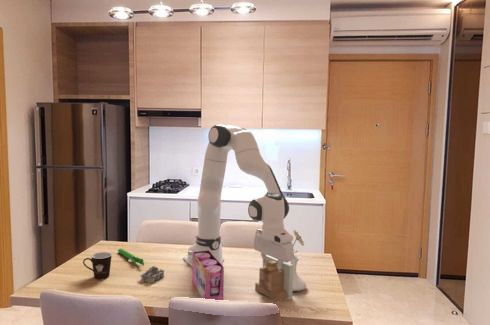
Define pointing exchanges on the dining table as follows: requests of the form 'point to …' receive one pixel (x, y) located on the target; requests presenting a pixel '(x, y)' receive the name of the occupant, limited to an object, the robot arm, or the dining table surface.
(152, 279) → the grey jagged rock
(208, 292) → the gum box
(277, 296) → the bookend
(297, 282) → the flower in vase
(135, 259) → the green onion
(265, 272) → the wooden block
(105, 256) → the coffee mug
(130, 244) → the dining table surface
